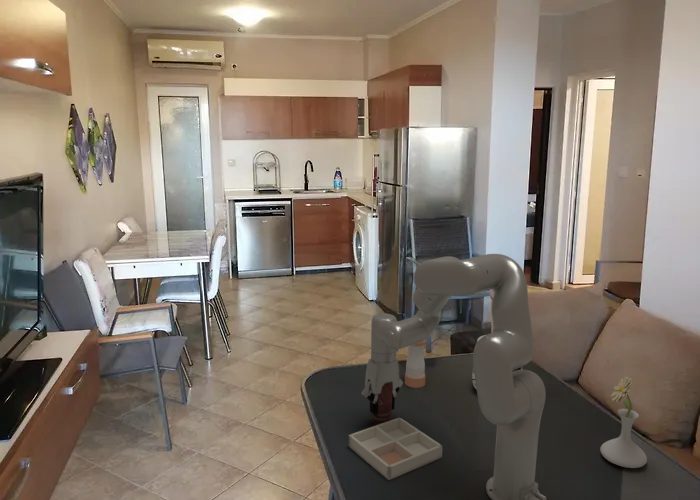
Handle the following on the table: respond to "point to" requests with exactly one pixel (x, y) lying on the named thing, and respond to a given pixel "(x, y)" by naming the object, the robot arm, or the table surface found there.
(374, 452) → the divided tray
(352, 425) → the table surface
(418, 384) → the pepper shaker
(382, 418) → the can
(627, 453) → the flower in vase
